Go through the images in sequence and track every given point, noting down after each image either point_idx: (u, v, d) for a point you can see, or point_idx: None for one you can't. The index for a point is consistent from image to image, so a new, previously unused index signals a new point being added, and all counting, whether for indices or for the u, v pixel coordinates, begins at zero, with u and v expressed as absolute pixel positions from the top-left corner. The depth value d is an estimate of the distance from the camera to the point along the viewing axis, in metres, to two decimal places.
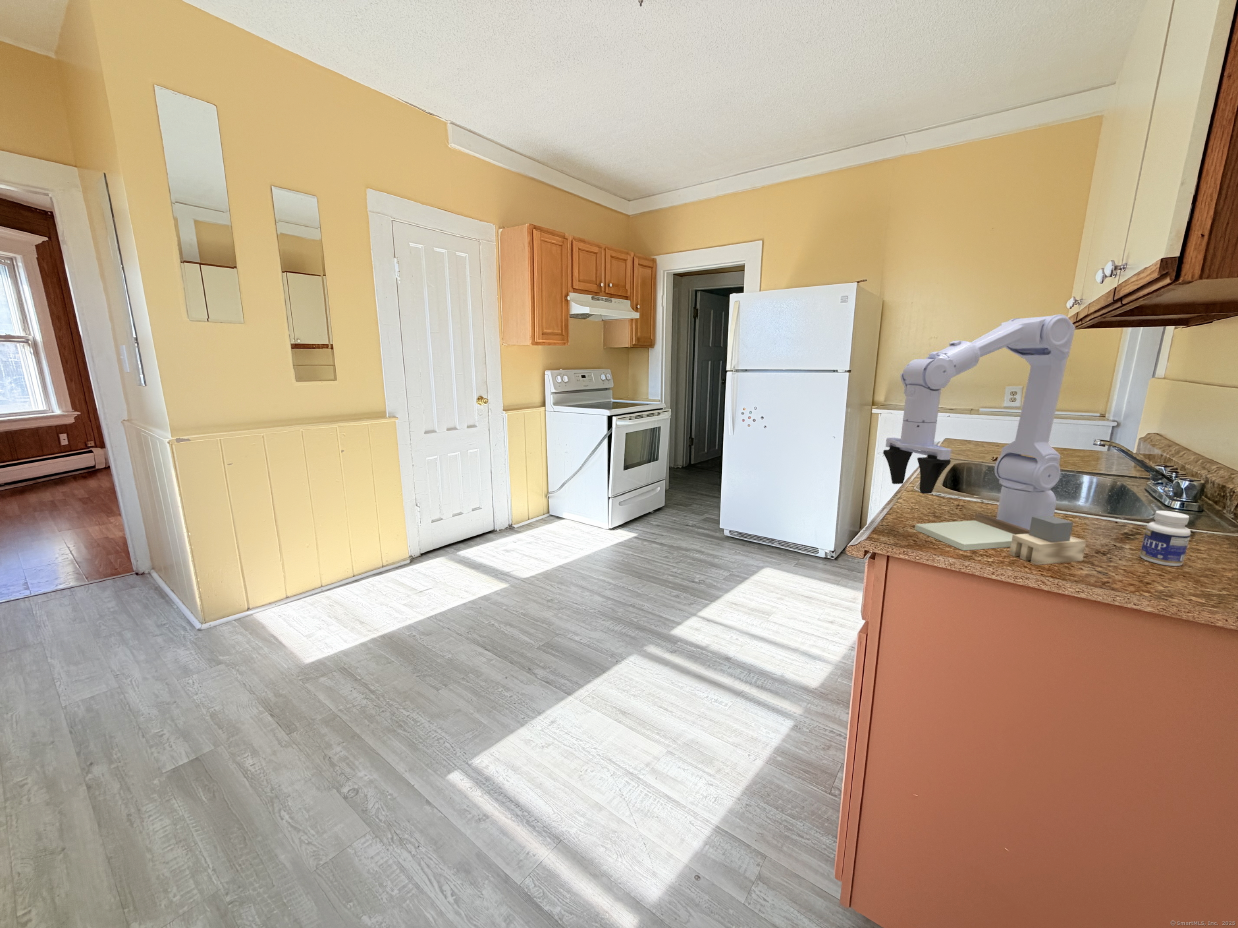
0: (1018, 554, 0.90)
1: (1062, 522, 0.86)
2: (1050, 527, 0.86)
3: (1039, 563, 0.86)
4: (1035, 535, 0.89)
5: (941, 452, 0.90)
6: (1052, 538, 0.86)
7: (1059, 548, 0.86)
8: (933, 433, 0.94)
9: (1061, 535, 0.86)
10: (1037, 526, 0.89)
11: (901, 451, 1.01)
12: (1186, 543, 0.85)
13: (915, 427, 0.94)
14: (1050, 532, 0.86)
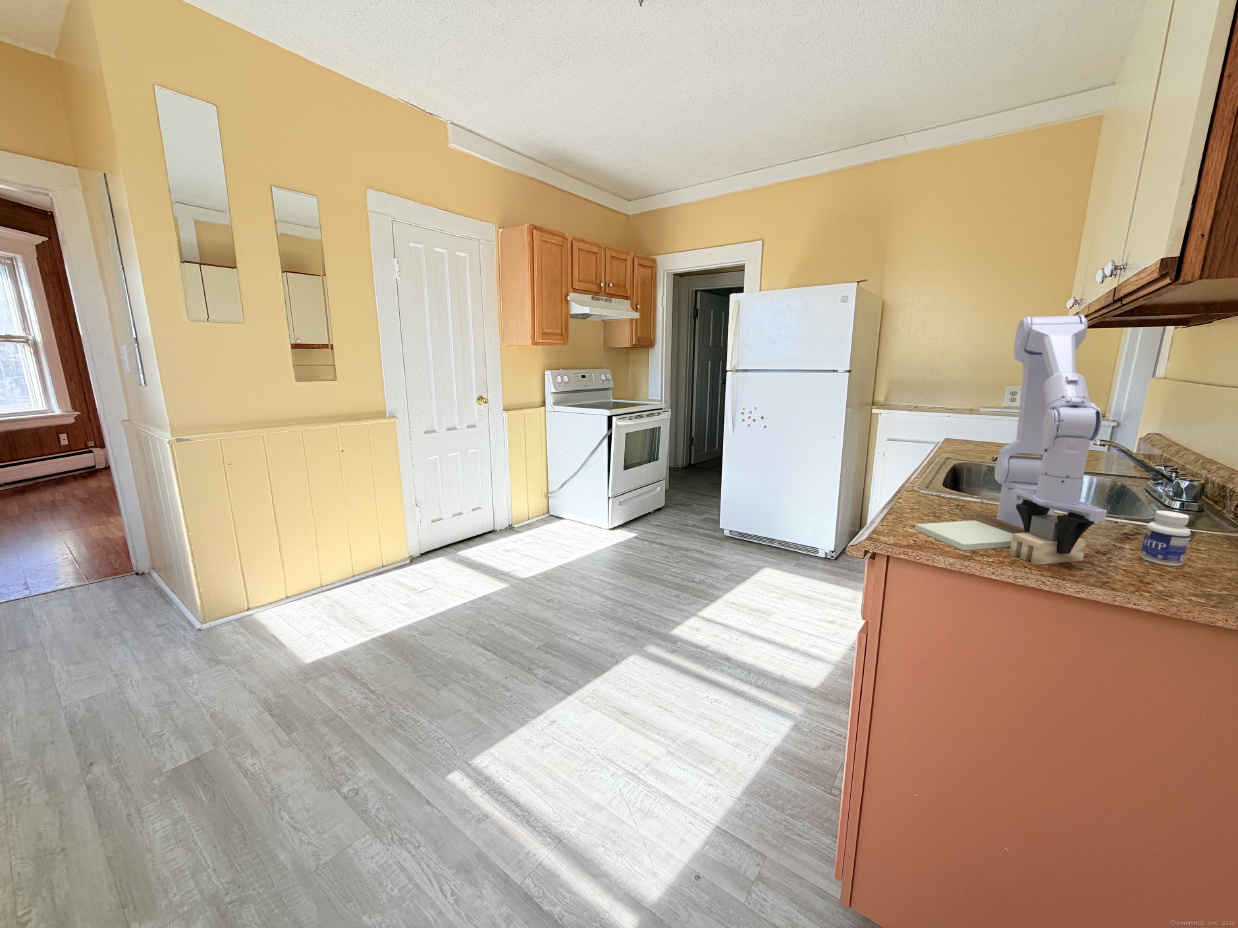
0: (1018, 553, 0.90)
1: None
2: (1050, 526, 0.86)
3: (1039, 562, 0.86)
4: (1035, 534, 0.89)
5: (1096, 513, 0.80)
6: (1052, 537, 0.86)
7: None
8: (1079, 489, 0.84)
9: None
10: (1037, 525, 0.88)
11: (1038, 507, 0.90)
12: (1186, 543, 0.85)
13: (1059, 483, 0.84)
14: (1050, 531, 0.86)
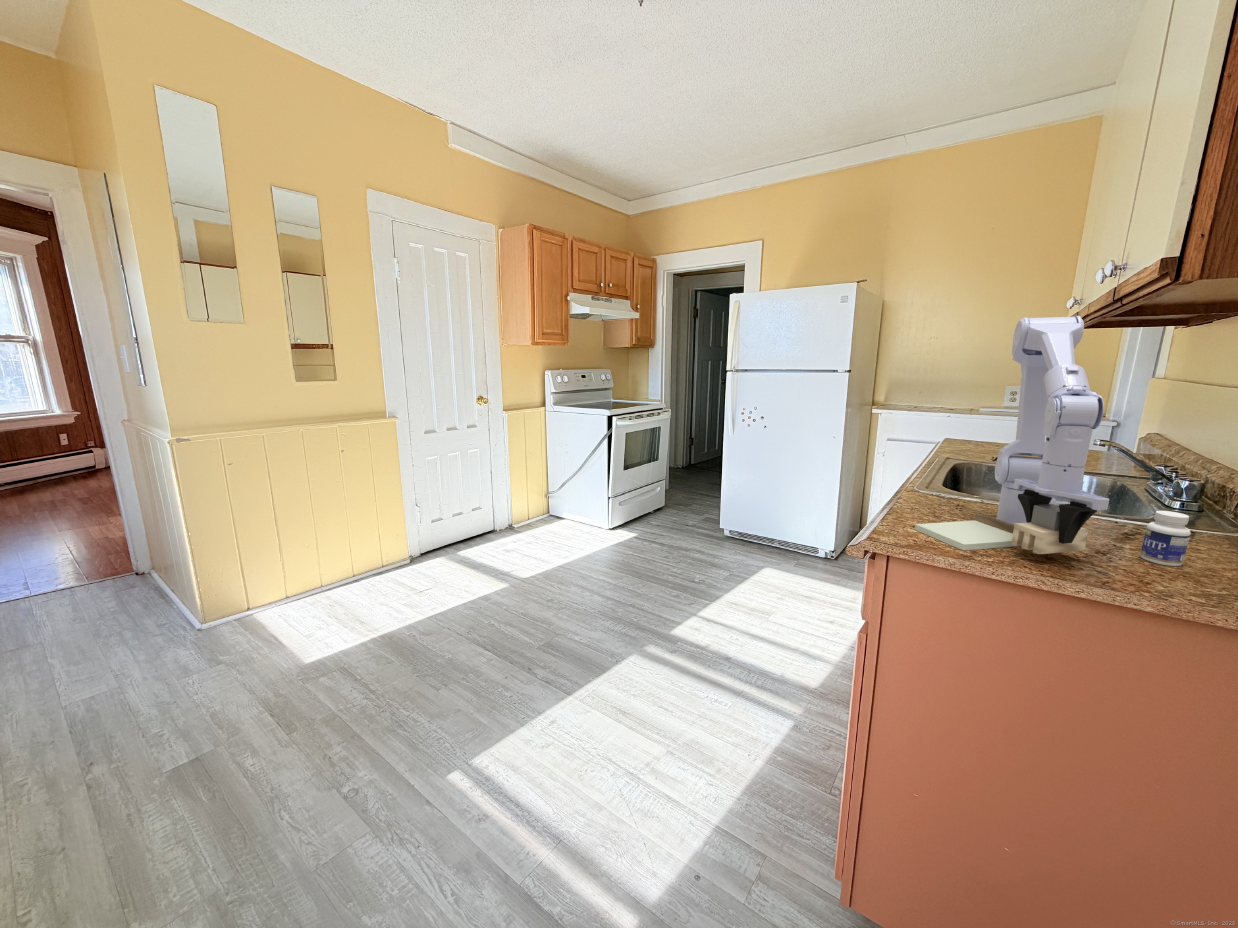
0: (1020, 543, 0.90)
1: None
2: (1052, 515, 0.86)
3: (1041, 551, 0.86)
4: (1037, 524, 0.89)
5: (1098, 502, 0.80)
6: (1054, 526, 0.86)
7: None
8: (1081, 478, 0.84)
9: None
10: (1039, 514, 0.88)
11: (1040, 496, 0.90)
12: (1186, 543, 0.85)
13: (1061, 471, 0.84)
14: (1053, 520, 0.86)
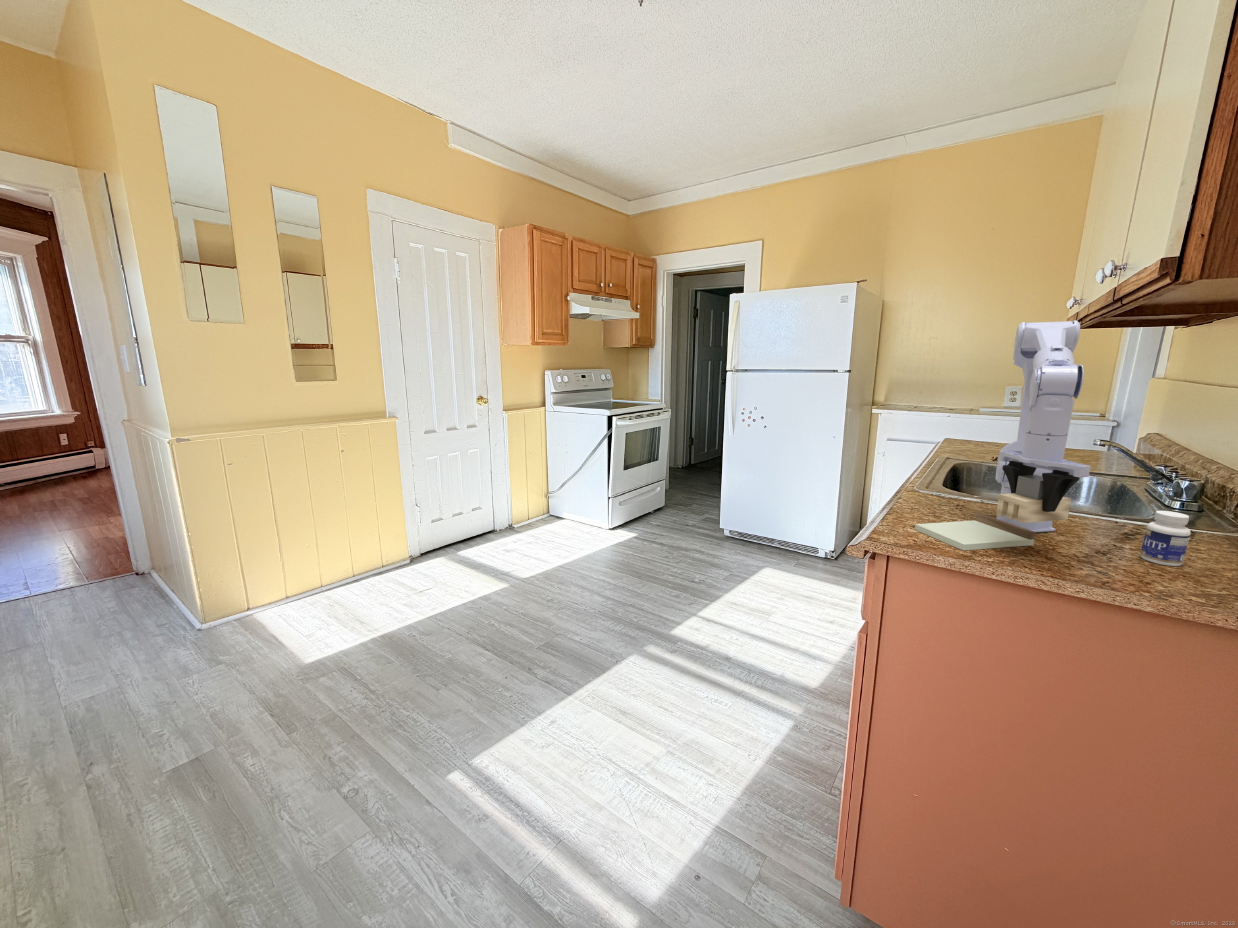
0: (1005, 513, 0.91)
1: None
2: (1036, 485, 0.87)
3: (1025, 520, 0.87)
4: (1021, 494, 0.90)
5: (1080, 469, 0.81)
6: (1038, 495, 0.87)
7: None
8: (1064, 447, 0.85)
9: None
10: (1023, 485, 0.90)
11: (1024, 467, 0.91)
12: (1186, 543, 0.85)
13: (1044, 441, 0.85)
14: (1036, 489, 0.87)
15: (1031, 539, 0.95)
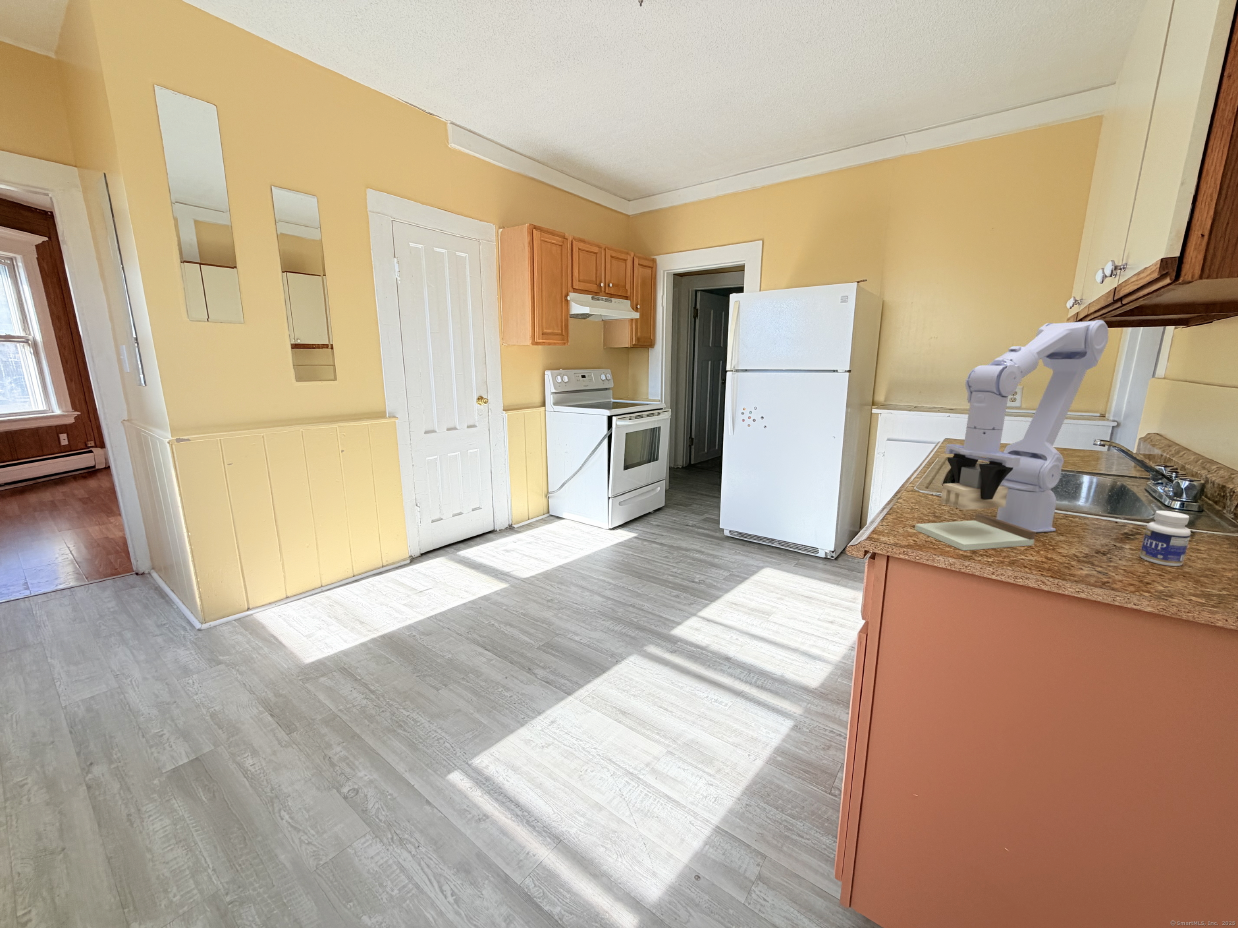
0: (948, 501, 0.99)
1: None
2: (976, 475, 0.95)
3: (964, 507, 0.95)
4: (964, 484, 0.97)
5: (1010, 460, 0.89)
6: (977, 485, 0.95)
7: None
8: (999, 440, 0.93)
9: None
10: (966, 475, 0.97)
11: (967, 459, 0.99)
12: (1186, 543, 0.85)
13: (981, 434, 0.93)
14: (976, 479, 0.95)
15: (1031, 539, 0.95)
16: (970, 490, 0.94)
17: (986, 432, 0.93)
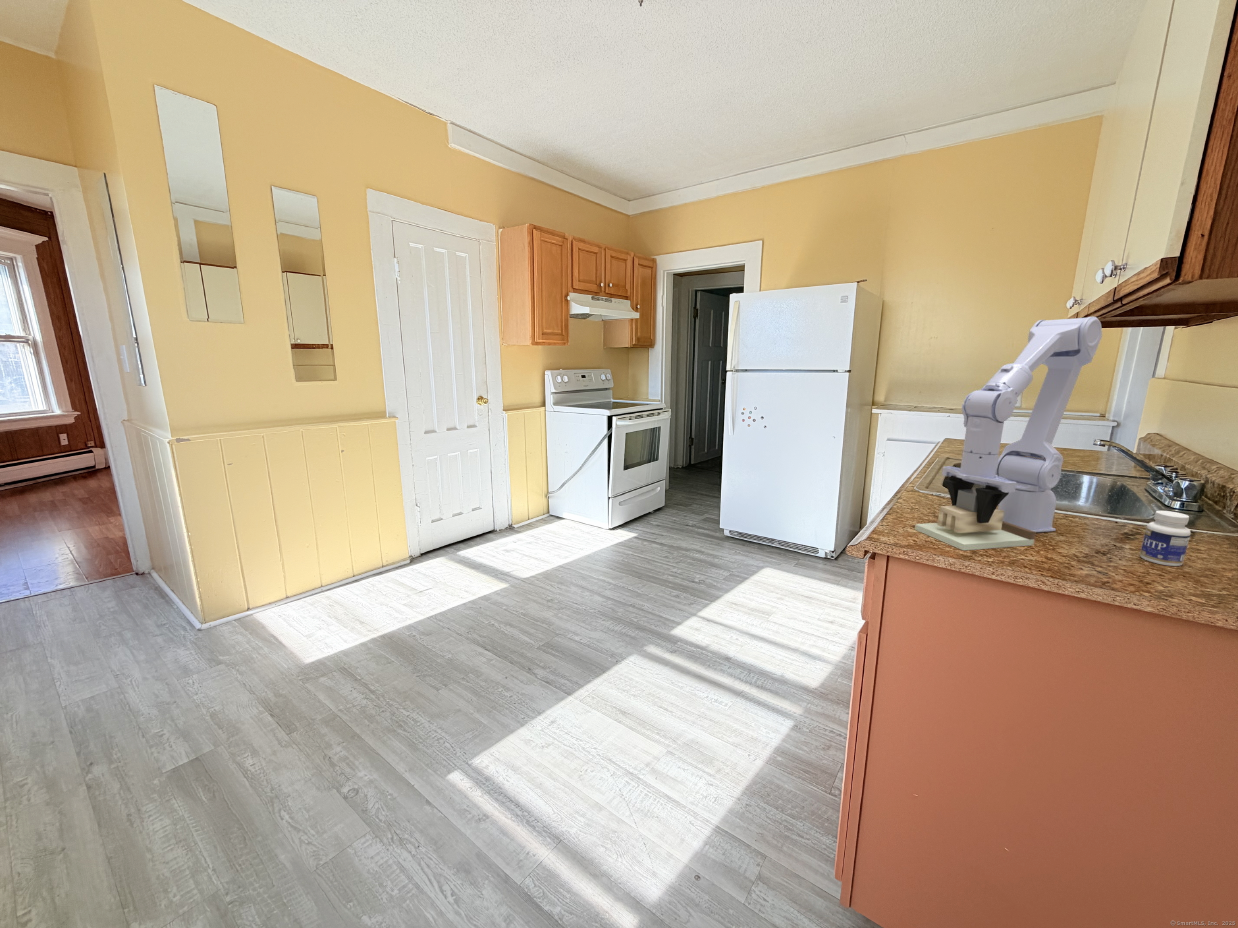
0: (945, 524, 1.00)
1: None
2: (972, 499, 0.96)
3: (961, 530, 0.96)
4: (961, 506, 0.98)
5: (1006, 485, 0.90)
6: (974, 508, 0.96)
7: None
8: (995, 464, 0.94)
9: None
10: (962, 498, 0.98)
11: (963, 481, 1.00)
12: (1186, 543, 0.85)
13: (977, 458, 0.94)
14: (972, 503, 0.96)
15: (1031, 539, 0.95)
16: (966, 514, 0.95)
17: (982, 457, 0.94)
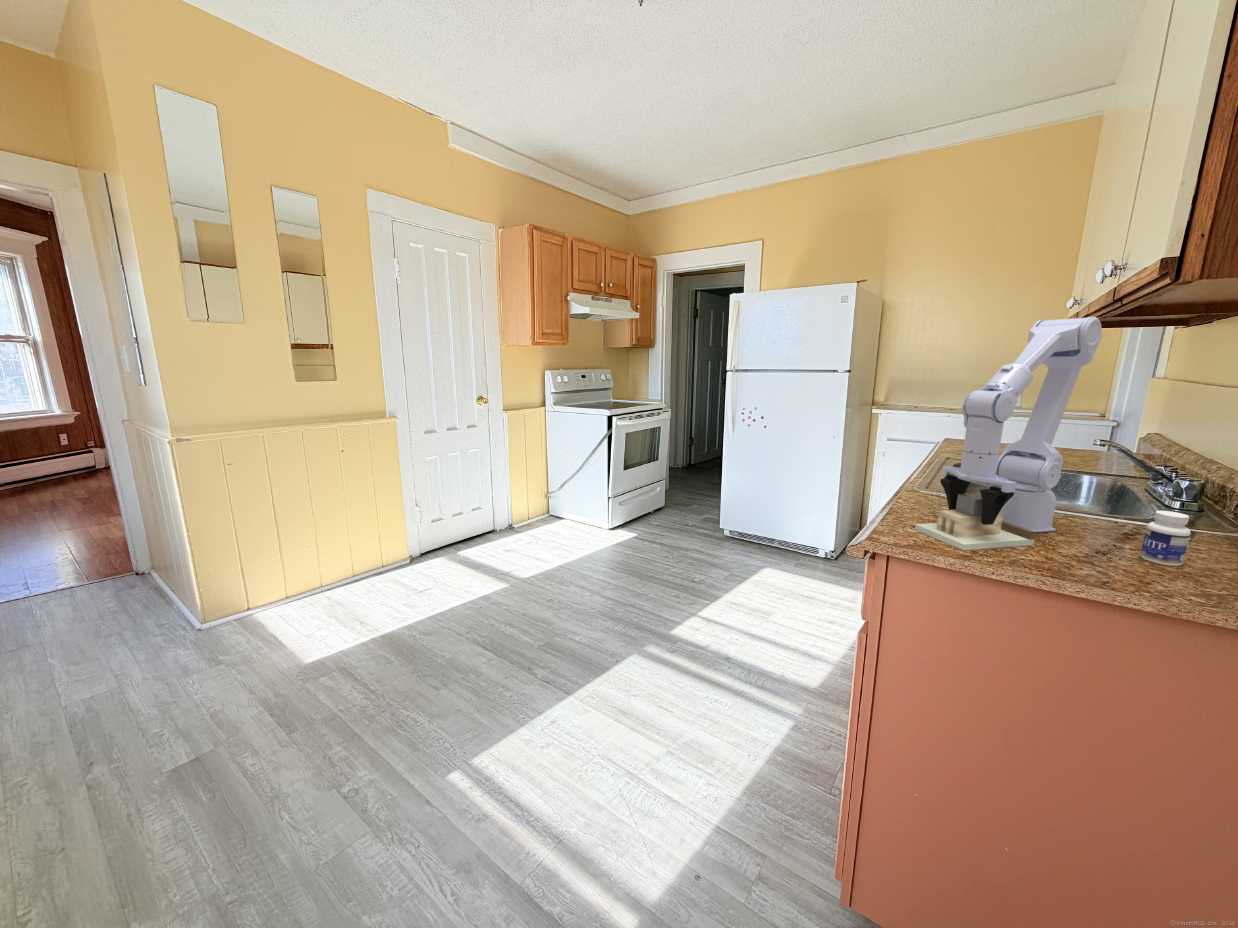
0: (944, 528, 1.00)
1: None
2: (972, 503, 0.96)
3: (960, 535, 0.96)
4: (960, 511, 0.99)
5: (1006, 485, 0.90)
6: (973, 513, 0.96)
7: (978, 521, 0.96)
8: (995, 464, 0.94)
9: None
10: (962, 503, 0.98)
11: (959, 480, 1.01)
12: (1186, 543, 0.85)
13: (977, 458, 0.94)
14: (972, 507, 0.96)
15: (1031, 539, 0.95)
16: (965, 518, 0.96)
17: (982, 457, 0.94)
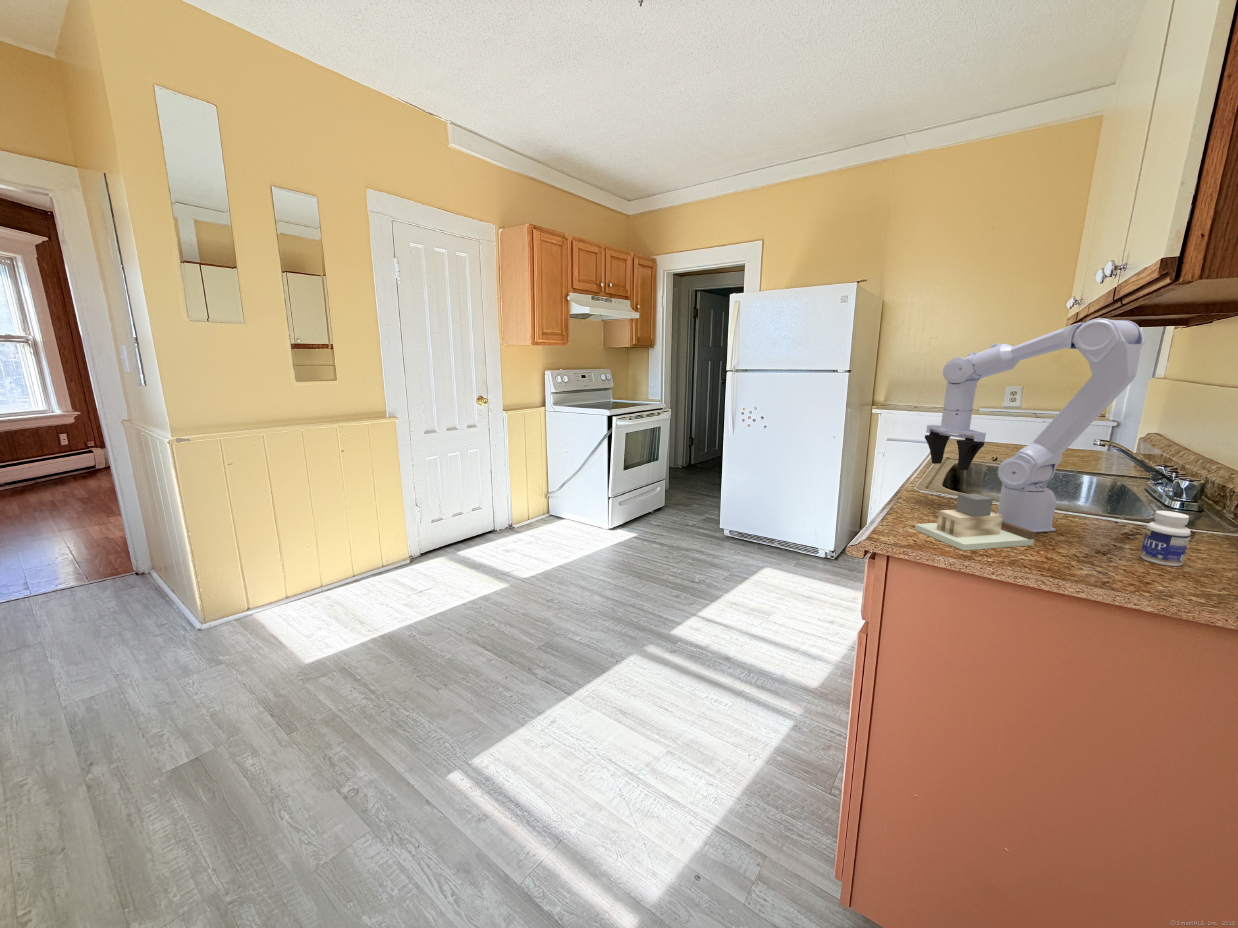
0: (944, 528, 1.00)
1: (983, 498, 0.96)
2: (972, 503, 0.96)
3: (960, 535, 0.96)
4: (960, 511, 0.99)
5: (977, 435, 1.09)
6: (973, 513, 0.96)
7: (978, 521, 0.96)
8: (969, 420, 1.13)
9: (982, 510, 0.96)
10: (962, 503, 0.98)
11: (940, 436, 1.20)
12: (1186, 543, 0.85)
13: (954, 415, 1.13)
14: (972, 507, 0.96)
15: (1031, 539, 0.95)
16: (965, 518, 0.96)
17: (958, 413, 1.12)
